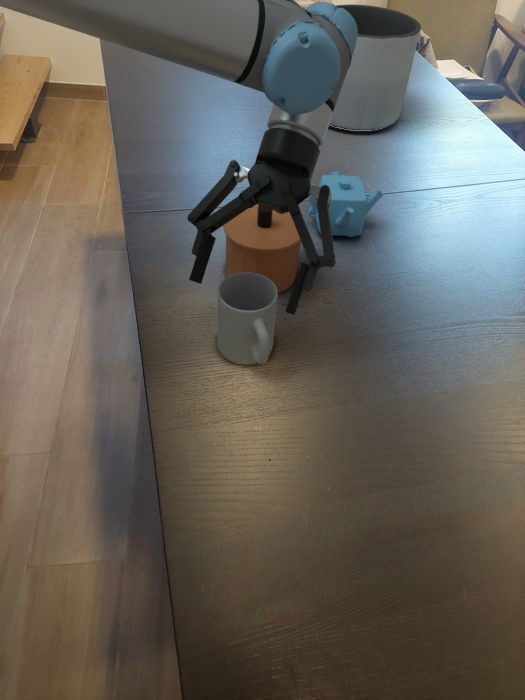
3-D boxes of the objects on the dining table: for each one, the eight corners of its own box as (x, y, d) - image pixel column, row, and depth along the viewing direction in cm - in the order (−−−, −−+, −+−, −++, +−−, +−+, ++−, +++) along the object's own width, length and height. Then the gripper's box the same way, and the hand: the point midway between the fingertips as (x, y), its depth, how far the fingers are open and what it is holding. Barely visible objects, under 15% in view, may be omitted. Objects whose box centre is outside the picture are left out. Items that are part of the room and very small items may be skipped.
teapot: (300, 201, 107) (306, 155, 99) (366, 203, 107) (377, 157, 100) (309, 254, 95) (316, 207, 87) (383, 256, 95) (396, 209, 88)
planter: (305, 90, 145) (315, -1, 129) (394, 99, 145) (415, 8, 128) (302, 130, 128) (313, 31, 112) (402, 140, 128) (429, 42, 111)
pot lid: (222, 254, 79) (222, 231, 76) (223, 206, 88) (223, 184, 85) (308, 256, 80) (311, 234, 77) (300, 208, 89) (303, 186, 86)
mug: (210, 331, 80) (209, 277, 72) (261, 319, 82) (265, 266, 74) (235, 389, 73) (237, 336, 64) (290, 374, 75) (298, 322, 67)
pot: (225, 294, 86) (225, 249, 79) (226, 249, 94) (226, 204, 87) (298, 296, 87) (305, 250, 80) (292, 251, 95) (298, 206, 88)
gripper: (388, 173, 66) (334, 328, 68) (214, 128, 71) (169, 273, 73) (389, 151, 59) (329, 326, 60) (195, 103, 64) (145, 265, 66)
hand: (241, 297), depth 67 cm, fingers open, 13 cm apart
